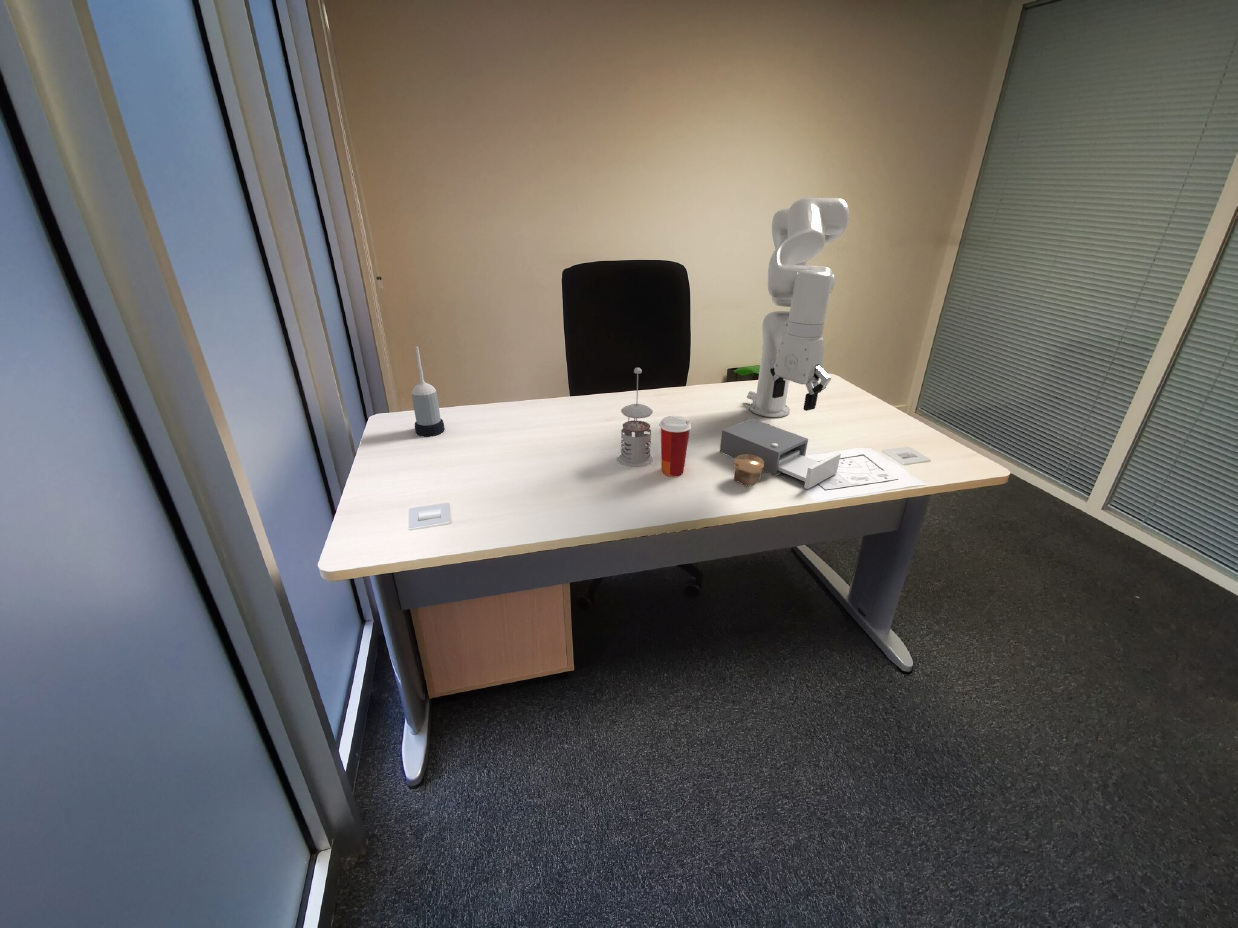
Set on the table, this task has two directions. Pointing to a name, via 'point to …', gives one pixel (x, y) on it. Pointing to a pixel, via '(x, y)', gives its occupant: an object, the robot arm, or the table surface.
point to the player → (761, 442)
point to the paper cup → (674, 444)
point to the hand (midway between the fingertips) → (792, 403)
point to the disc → (749, 464)
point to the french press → (636, 435)
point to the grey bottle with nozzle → (426, 407)
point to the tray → (808, 467)
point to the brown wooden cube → (746, 478)
